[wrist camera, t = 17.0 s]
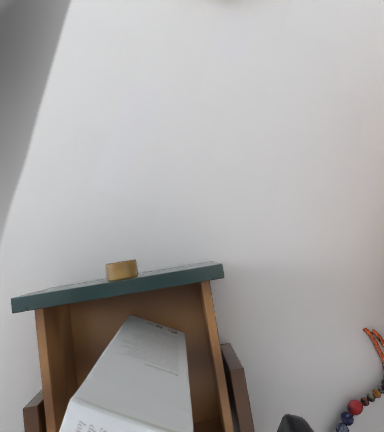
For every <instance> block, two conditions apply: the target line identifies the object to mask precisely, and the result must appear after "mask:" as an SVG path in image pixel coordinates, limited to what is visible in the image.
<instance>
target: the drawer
mask: <svg viewBox="0 0 384 432" xmlns="http://www.w3.org/2000/svg"><path fill="white" fill-rule="evenodd" d="M106 273H107V279H102V280H96V281H90V282H84V283H77V284H71V285H65V286H59V287H53V288H49V289H45V290H41V291H38V292H34V293H30V294H26V295H22V296H19V297H15V298H12V299H11V305H12V313H18V312H24V311H30V310H35V319H36V329H37V339H38V349H39V359H40V368H41V378H42V388H43V398H44V408H45V418H46V427H47V432H59V431H60V428H61V425H62V422H63V419H64V416H65V412H66V409H67V406H68V403H69V401H70V399H71V398H72V397H73V395H74V394H75V393H76V392H77V390H78V389H79V388H80V386H81V385H82V384H83V382H84V381H85V379H86V378H87V376H88V374H89V373H90V371H91V370H92V368H93V367H94V365H95V364H96V362H97V361H98V359H99V358H100V356H101V355H102V353H103V352H104V350H105V349H106V348H107V346H108V345H109V343H110V342H111V340H112V339H113V338H114V336H115V335H116V333H117V332H118V330H119V329H120V327H121V326H122V324H123V323H124V321H125V320H126V319H127V317H128V316H130V315H133V316H136V317H139V318H142V319H145V320H148V321H151V322H154V323H157V324H160V325H163V326H166V327H169V328H172V329H175V330H178V331H181V332H183V333H184V334H185V340H186V352H187V364H188V377H189V387H190V398H191V408H192V419H193V432H234V428H233V422H232V415H231V409H230V403H229V397H228V391H227V385H226V379H225V373H224V367H223V361H222V355H221V349H220V343H219V337H218V331H217V324H216V318H215V312H214V306H213V300H212V294H211V288H210V282H209V280H215V279H221V278H224V272H223V266H222V264H220V263H216V262H212V261H211V262H205V263H199V264H193V265H187V266H181V267H175V268H169V269H163V270H156V271H150V272H144V273H138V270H137V263H136V260H129V261H122V262H116V263H110V264H106Z"/></svg>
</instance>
